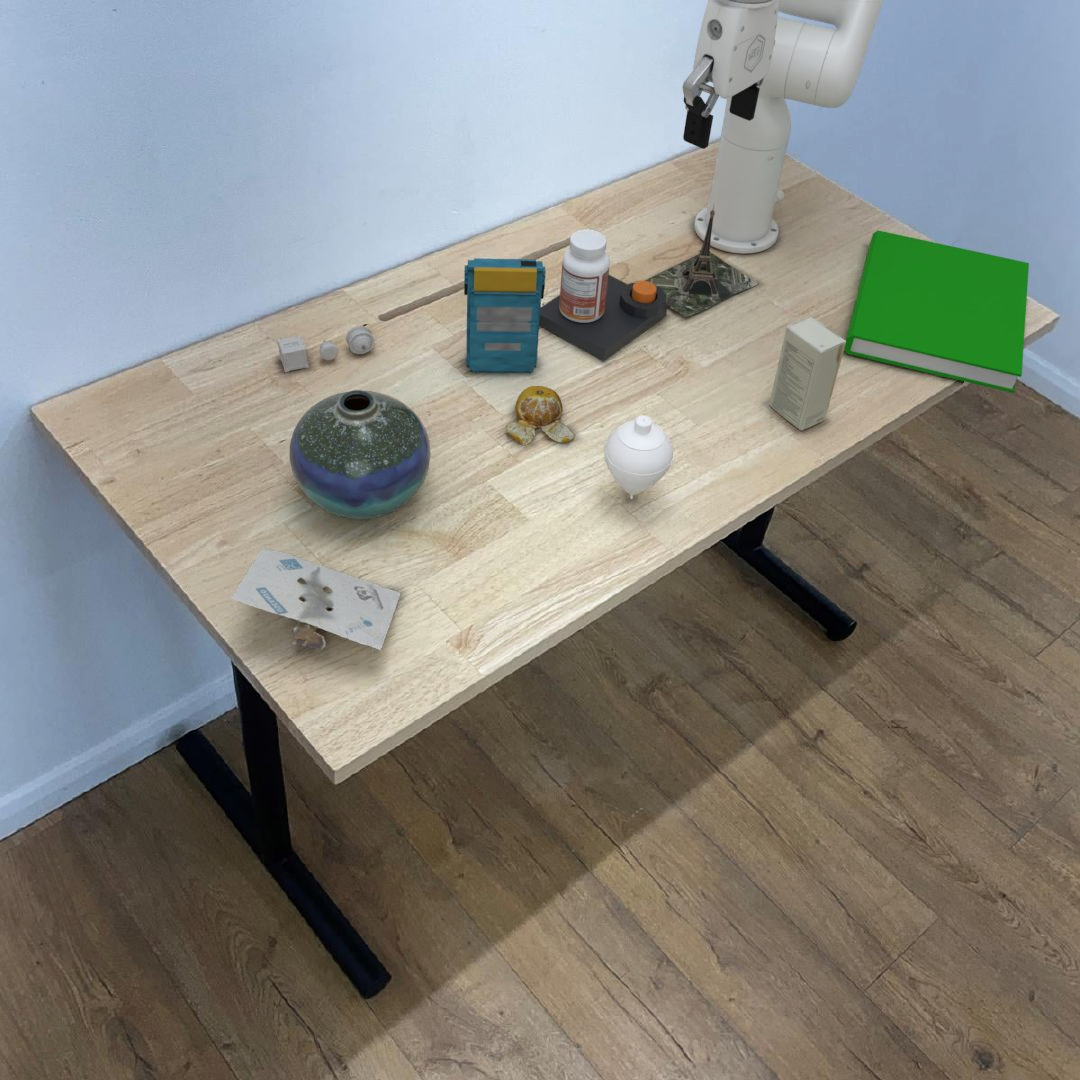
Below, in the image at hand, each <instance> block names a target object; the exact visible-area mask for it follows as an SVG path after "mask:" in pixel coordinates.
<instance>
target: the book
mask: <svg viewBox="0 0 1080 1080" xmlns="http://www.w3.org/2000/svg"><path fill="white" fill-rule="evenodd" d="M868 245H869V246H868V249H867V254H866V257H865V262H864V266H863V270H862V274H861V278H860V282H859V285H858V290H857V293H856V298H855V302H854V306H853V309H852V314H851V318H850V323H849V325H848V330H847V334H846V339H845V341H846V344H845V348H844V351H845V354H847V355H851V356H855V357H858V358H862V359H863V358H864V359H866V360H867V359H868V360H872V361H876V362H881V363H885V364H889V365H893V366H897V367H902V368H906V369H909V370H914V371H919V372H921V373H927V374H931V375H935V376H940V377H944V378H948V379H952V380H955V381H961V382H965V383H969V384H974V385H978V386H980V387H981V386H982V387H986V388H990V389H995V390H999V391H1003V392H1008V393H1010V394H1014V393H1015V389H1016V382H1017V379H1018V378H1021V377H1022V375H1023V365H1024V364H1023V362H1024V347H1025V331H1026V330H1025V329H1026V315H1027V301H1028V300H1027V299H1028V285H1029V283H1028V282H1029V268H1030V262H1027V261H1023V260H1017V259H1013V258H1009V257H1003V256H999V255H994V254H990V253H984V252H980V251H975V250H971V249H966V248H962V247H957V246H952V245H948V244H944V243H938V242H934V241H929V240H925V239H920V238H916V237H911V236H907V235H902V234H898V233H893V232H888V231H883V230H876V231H875V232H873V233H872V235H871V238H870V242H869V244H868Z"/></svg>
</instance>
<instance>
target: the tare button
mask: <svg viewBox="0 0 1080 1080" xmlns="http://www.w3.org/2000/svg"><path fill="white" fill-rule="evenodd" d="M635 282H636V283H635ZM635 282H634V283H635V284H634V285H633V289H632V299H633V300H635V301H637V302H640V303H651V302H653V301H654V300H655V296H656V290H657V288H656V286H655V285H654V284H653V283H651V282H648V281H645V280H639V281H635Z"/></svg>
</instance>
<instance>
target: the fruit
mask: <svg viewBox="0 0 1080 1080" xmlns="http://www.w3.org/2000/svg"><path fill="white" fill-rule="evenodd" d="M514 410H515V414H516V419H517V421H514V422H509V423H507V425H506V426H505V432H506V433H507V434H508V435H509V436H511V438H512V439H513V440H514V441H515V442H517V443H518V444H520V445H522V446H527V445H528V444H531V443H532V441H533V439H534V438H535V436H536V433H535V429H537V428H540V429H542V430H541V431H542V432H544V434H546V435H547V437H549V439H551V440H552V441H554V442H556V443H567V442H570V441H571V440H573V439H574V438H575V437H576V436H575V435H576V434H575V433H574V432H573V431H572V430H571V429H570V428H569V427H568V426H567V425H565V423H562V422H561V421H560V419H561V417H562V415H563V403H562V399H561V398H560V395H559V394H558V393H557V392H556V391H555V390H554V389H551V388H550V387H547V386H543V385H531V386H528V387H527V388H525V389H523V390H522V391H520V394H519V395H518V397H517V399H516V403H515V406H514Z"/></svg>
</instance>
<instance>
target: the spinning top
mask: <svg viewBox="0 0 1080 1080" xmlns="http://www.w3.org/2000/svg"><path fill="white" fill-rule="evenodd" d="M603 449H604V451H603V452H604V461H605V465H606V467H607V469H608V470H609V473H610V474H611V476H612V478H613V479H614V480H615V481H616V483H617V485H619V486H620V487H621V488H622V489H623V490H624V491H625V492H626V493H628V494H629V499H630V500H633V499H634V496H635V495H638V494H640V493H642V492H644V491H646V490H648V489H649V488H651V487H652V486H654V485H656V484H657V483H658V482H659V481H660V480H661V479H662V478H663V477H664V476H665V475H666V474H667V473H668V471H669V469H670V468H671V465H672V462H673V459H674V448H673V443H672V441H671V439H670V437H669V436H668V434H667V433H666V432H665V430H664V429H663V428H662V427H661V426H659V424H657V423H655V422H653V419H652V418H651V417H650V416H648V415H644V414H641V415H637V416H636V417H635V419H631V420H627V421H625V422H624V423H622V424H620V425H618V426H617V427H616V428H614V429H613V431H611V433H610V434H609V435H608V437H607V439H606V441H605V444H604V447H603Z"/></svg>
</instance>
